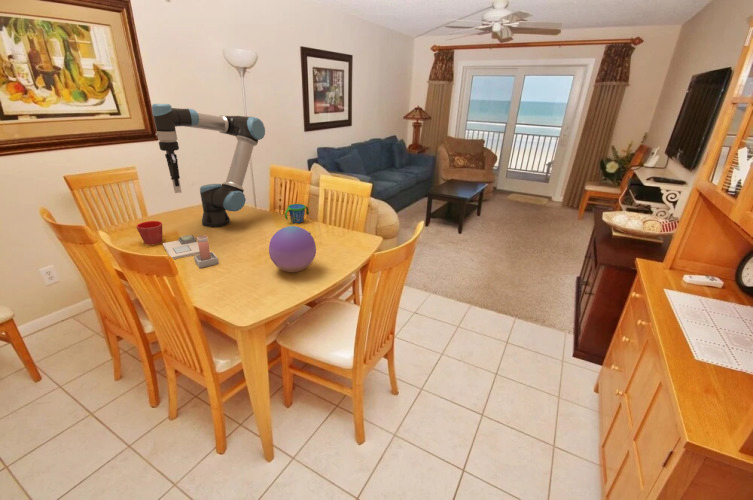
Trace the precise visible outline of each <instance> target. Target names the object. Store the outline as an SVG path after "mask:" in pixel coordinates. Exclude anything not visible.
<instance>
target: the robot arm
mask: <svg viewBox="0 0 753 500" xmlns="http://www.w3.org/2000/svg"><path fill="white" fill-rule="evenodd" d="M151 112H152V113H151V114H152V117H153V122H154V127H155V131H156V133H155V137H156V136H157V140H158V145H159V149H160V150H161V151H163V152H166V153H165V154H164V155H165V158H166V163H167V167H168V170H169V175H170V180H171V181H172V187H173V191H174V193H175V194H180V193H182V188H181V183H180V179H181V178H180V170H179V163H178V155H177V154H176V153H175V151H178V150H179V149H180V146H179V143H178V136H177V135H178V134H177V131H176V128H177V127H185V128H187V127H188V128H194V129H202V130H209V131H217V132H219V133H220V134H225V135H229V136H233V137H235V138H236V140H237V142H236V146H235V149H234V153H233V156H232V160H231V163H230V167H229V169H228V173H227V176H226V179H225V181H224V182H222V183H211V184H209V183H208V184H203V185H201V186H200V187H199V194H200V198H201V199H200V200H201V204H202V205H201V206H202V210H203V213H202V216H201V225H202V226H203V227H206V228H221V227H225V226H228V225H229V224H231V219H230V216H229V214H228V213H227V211H228V212H239V211H240V210H241V209H243V208H244V206H245V204H246V200H247V199H246V196H245V193H244V192H245V189H244V187H243V185H244V180H245V178H246V175H247V170H248V168H249V164H250V160H251V156H252V153H253V150H254V147H255V146H258V143H259V141H261V140H262V139H264V137H265V134H266V127H265V125H264V122H263V121H262V119H260V118H258V117H255V116H243V115H211V114H206V113H199V112H197V111H196V110H195V109H194V108H193V109H192V108H176V107H172V105H171V104H169V103H153V104H152V105H151Z"/></svg>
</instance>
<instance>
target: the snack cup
mask: <svg viewBox="0 0 753 500" xmlns="http://www.w3.org/2000/svg"><path fill="white" fill-rule="evenodd" d="M288 212H289V218H290V222H291V223H292V222H293V223H292V224H295V223H299V224H302V223H301V222H303V223H304V222H305V213H306V215H307V216H308V215H309V214H310V211H309V207H308V206H307V205H305V204H303V203H292V204H289V205H288V206H287V208H286V209H285V212H284V218H285V219H286V220H288V219H289V218H288Z"/></svg>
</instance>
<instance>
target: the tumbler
mask: <svg viewBox="0 0 753 500" xmlns="http://www.w3.org/2000/svg"><path fill="white" fill-rule="evenodd" d="M196 241H197V243H198V246H199V251H200V254H199V255H200V257H201V261H204V260H209V259H211V256H210V252H211V250H210V245H209V239H208V235H204V234H202V235H198V236H197V237H196Z"/></svg>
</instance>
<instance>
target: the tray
mask: <svg viewBox="0 0 753 500" xmlns="http://www.w3.org/2000/svg"><path fill="white" fill-rule="evenodd" d="M210 256H211V259H209V260H204V261H201V257H200V254H197V255H193V257H194V262H195V265H197V266H198V269H203V268H207V267H211V266H217V265H219V264H220V263H219V257H218V256H217V255H216V254H215V253H214V252H213V251H210Z"/></svg>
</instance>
